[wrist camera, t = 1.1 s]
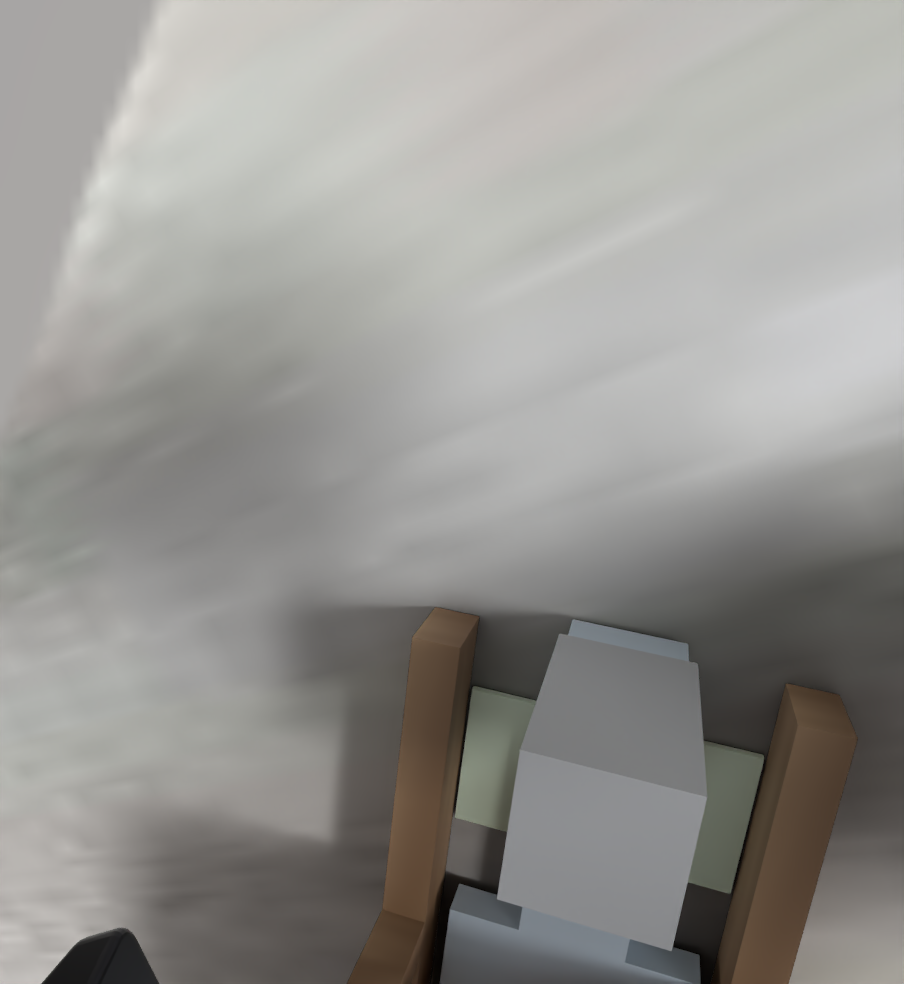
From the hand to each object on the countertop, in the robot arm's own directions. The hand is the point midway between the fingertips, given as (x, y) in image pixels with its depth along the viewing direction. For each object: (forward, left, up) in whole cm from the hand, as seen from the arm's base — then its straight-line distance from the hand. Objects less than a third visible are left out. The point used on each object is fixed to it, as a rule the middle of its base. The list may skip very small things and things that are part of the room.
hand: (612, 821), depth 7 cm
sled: (0, +12, -12) cm, 17 cm away
